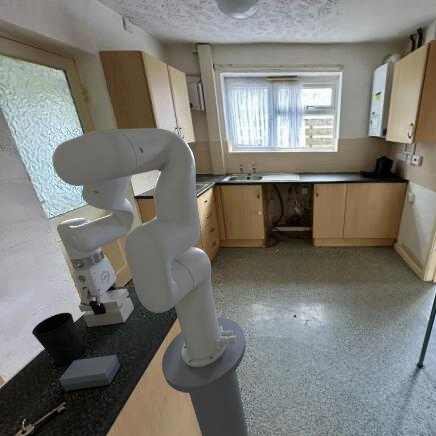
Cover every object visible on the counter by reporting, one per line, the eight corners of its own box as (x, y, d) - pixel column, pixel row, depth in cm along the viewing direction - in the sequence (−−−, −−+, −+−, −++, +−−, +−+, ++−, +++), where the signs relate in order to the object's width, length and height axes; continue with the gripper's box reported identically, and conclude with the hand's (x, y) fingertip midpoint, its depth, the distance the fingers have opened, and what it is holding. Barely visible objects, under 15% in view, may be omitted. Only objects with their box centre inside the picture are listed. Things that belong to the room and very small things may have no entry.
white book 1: (132, 302, 82) (130, 297, 81) (122, 316, 76) (120, 310, 75) (98, 306, 81) (95, 301, 80) (85, 321, 75) (82, 315, 74)
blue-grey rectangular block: (120, 365, 63) (118, 360, 62) (109, 384, 58) (106, 378, 57) (79, 371, 62) (76, 366, 61) (65, 391, 57) (61, 385, 56)
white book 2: (134, 308, 83) (132, 302, 82) (124, 322, 77) (122, 316, 76) (100, 312, 82) (98, 306, 81) (88, 327, 76) (85, 321, 75)
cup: (91, 340, 71) (76, 308, 67) (82, 361, 64) (65, 327, 60) (58, 350, 68) (40, 318, 64) (46, 373, 61) (25, 339, 57)
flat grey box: (128, 294, 81) (126, 288, 80) (118, 307, 75) (116, 301, 74) (94, 298, 80) (91, 292, 79) (80, 312, 74) (78, 306, 73)
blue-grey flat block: (118, 360, 62) (115, 354, 61) (106, 378, 57) (104, 373, 57) (76, 366, 61) (73, 360, 60) (61, 385, 56) (58, 379, 56)
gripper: (81, 273, 64) (103, 324, 70) (117, 244, 80) (132, 287, 86) (51, 276, 63) (76, 328, 69) (93, 246, 79) (110, 290, 85)
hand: (107, 305), depth 78 cm, fingers closed on flat grey box, 6 cm apart
